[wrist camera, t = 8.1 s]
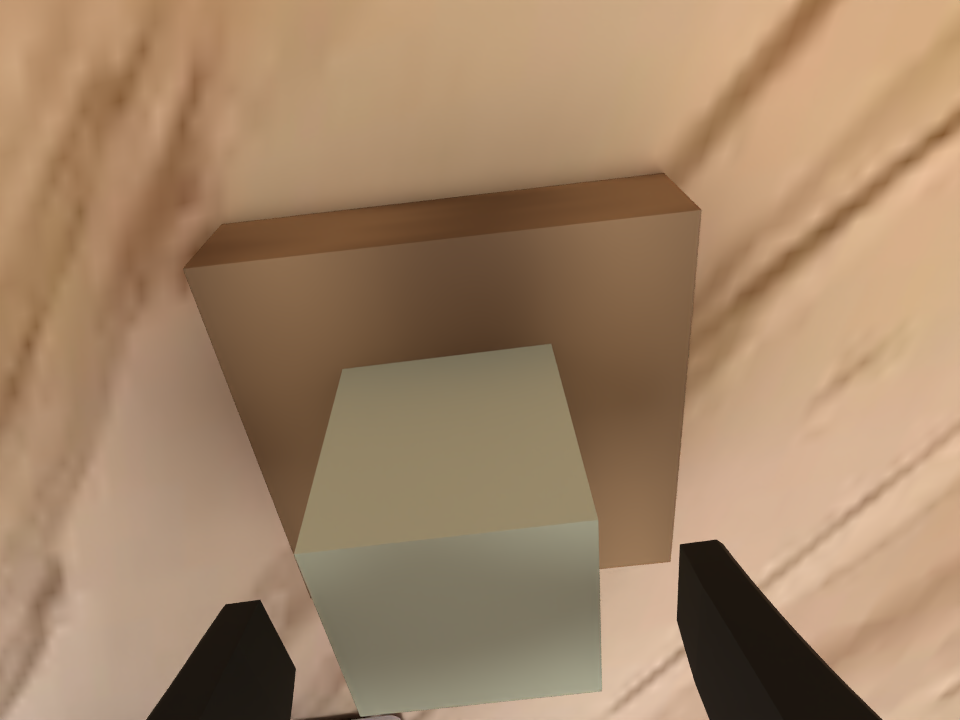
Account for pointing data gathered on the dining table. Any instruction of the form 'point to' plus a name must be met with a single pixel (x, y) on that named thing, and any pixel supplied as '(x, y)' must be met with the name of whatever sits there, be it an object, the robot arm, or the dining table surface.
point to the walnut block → (471, 325)
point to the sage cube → (455, 535)
